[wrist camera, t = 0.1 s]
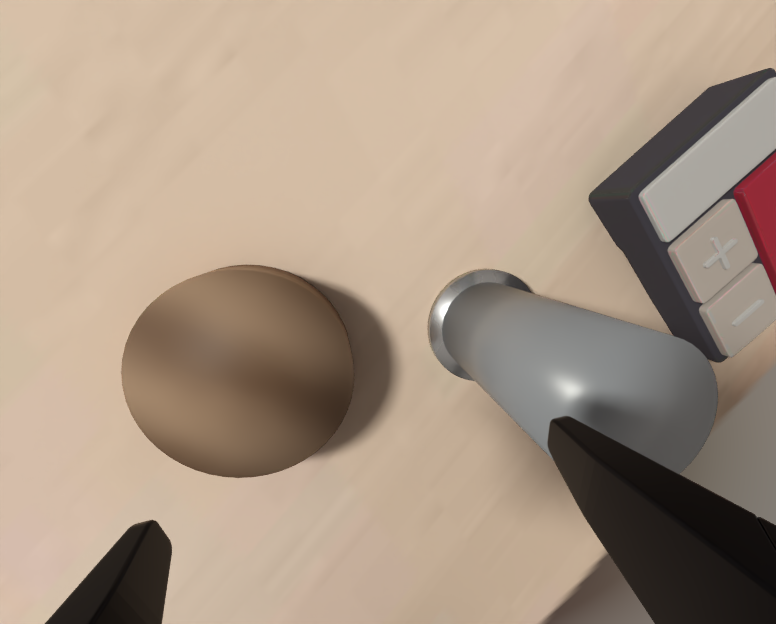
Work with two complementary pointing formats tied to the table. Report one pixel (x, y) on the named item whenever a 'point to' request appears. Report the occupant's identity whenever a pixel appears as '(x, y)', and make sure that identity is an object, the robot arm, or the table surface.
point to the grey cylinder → (575, 367)
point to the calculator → (704, 215)
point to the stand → (239, 371)
